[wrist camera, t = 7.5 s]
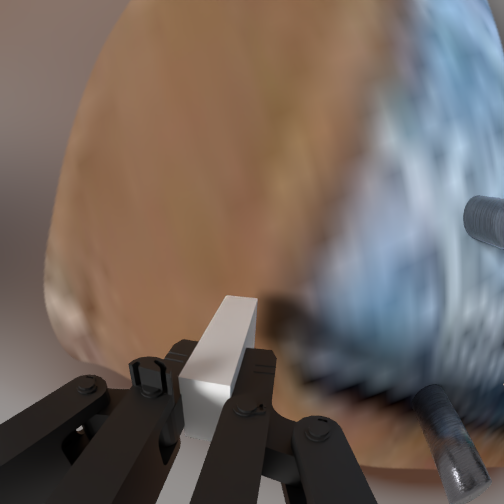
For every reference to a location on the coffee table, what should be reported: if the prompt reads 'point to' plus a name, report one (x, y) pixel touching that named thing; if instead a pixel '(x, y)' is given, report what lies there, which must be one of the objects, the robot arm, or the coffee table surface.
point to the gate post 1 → (450, 446)
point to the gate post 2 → (485, 220)
